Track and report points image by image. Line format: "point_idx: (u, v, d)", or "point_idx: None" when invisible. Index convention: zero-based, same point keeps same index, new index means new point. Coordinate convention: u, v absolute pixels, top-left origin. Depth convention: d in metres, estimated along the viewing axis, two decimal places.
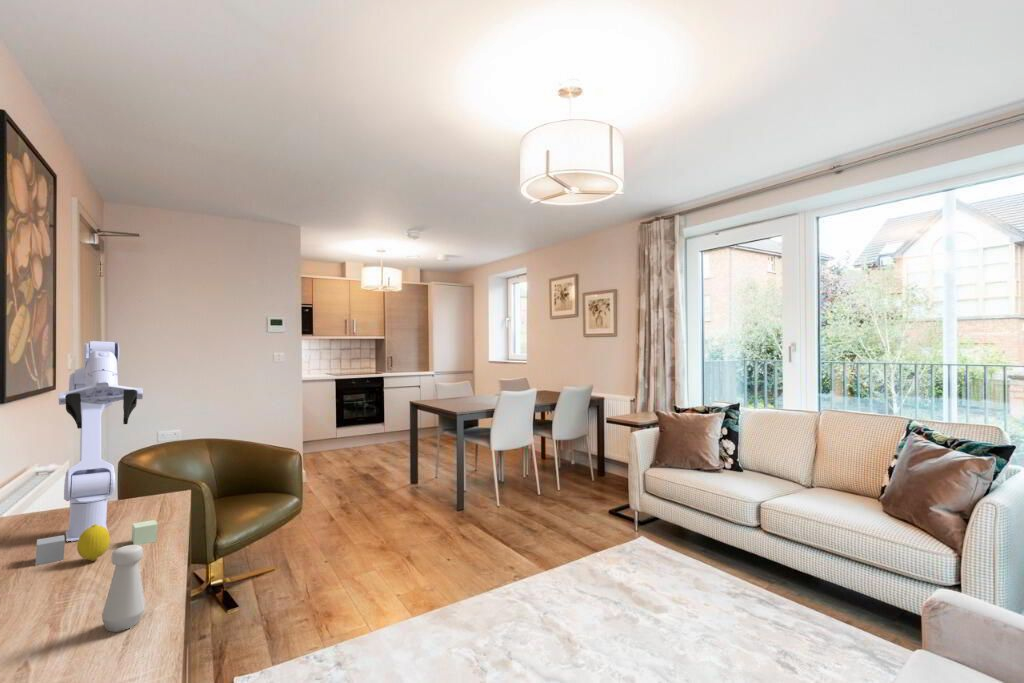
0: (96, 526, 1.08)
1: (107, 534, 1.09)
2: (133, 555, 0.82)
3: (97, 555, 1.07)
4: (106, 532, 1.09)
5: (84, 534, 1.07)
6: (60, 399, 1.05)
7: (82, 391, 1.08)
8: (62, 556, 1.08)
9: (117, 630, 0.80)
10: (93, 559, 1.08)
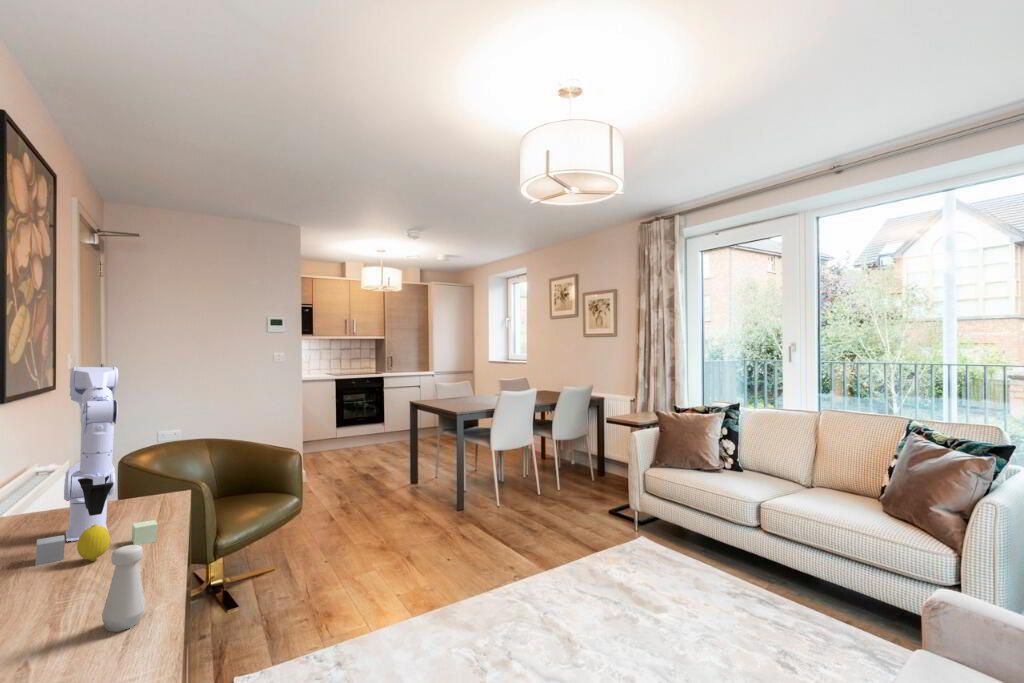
0: (96, 526, 1.08)
1: (107, 534, 1.09)
2: (133, 555, 0.82)
3: (97, 555, 1.07)
4: (106, 532, 1.09)
5: (84, 534, 1.07)
6: None
7: None
8: (62, 556, 1.08)
9: (117, 630, 0.80)
10: (93, 559, 1.08)
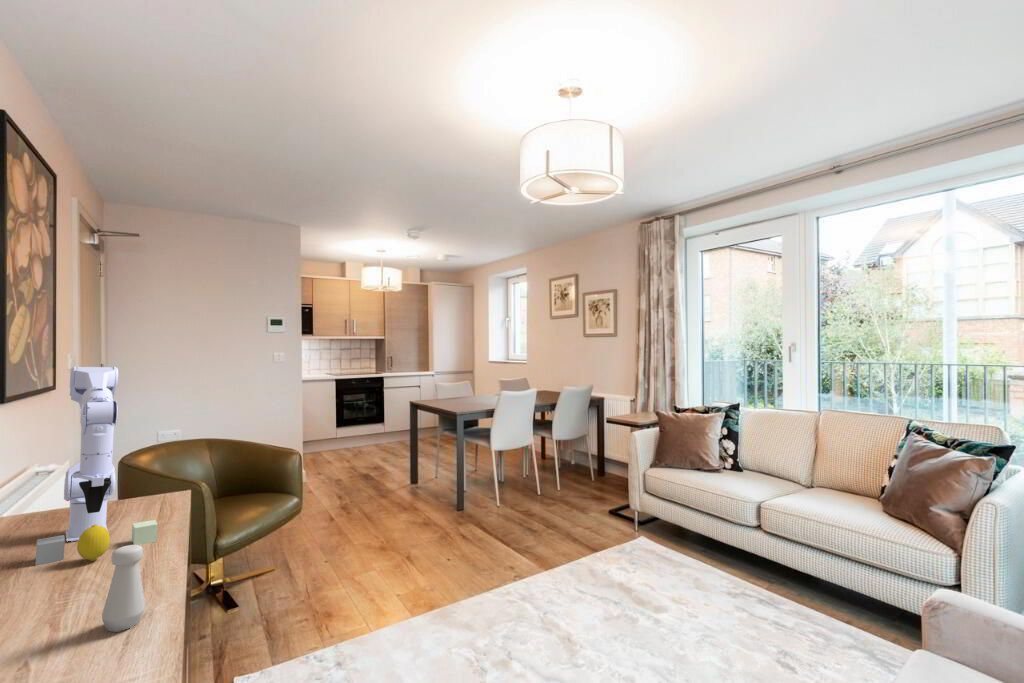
0: (96, 526, 1.08)
1: (107, 534, 1.09)
2: (133, 555, 0.82)
3: (97, 555, 1.07)
4: (106, 532, 1.09)
5: (84, 534, 1.07)
6: None
7: None
8: (62, 556, 1.08)
9: (117, 630, 0.80)
10: (93, 559, 1.08)
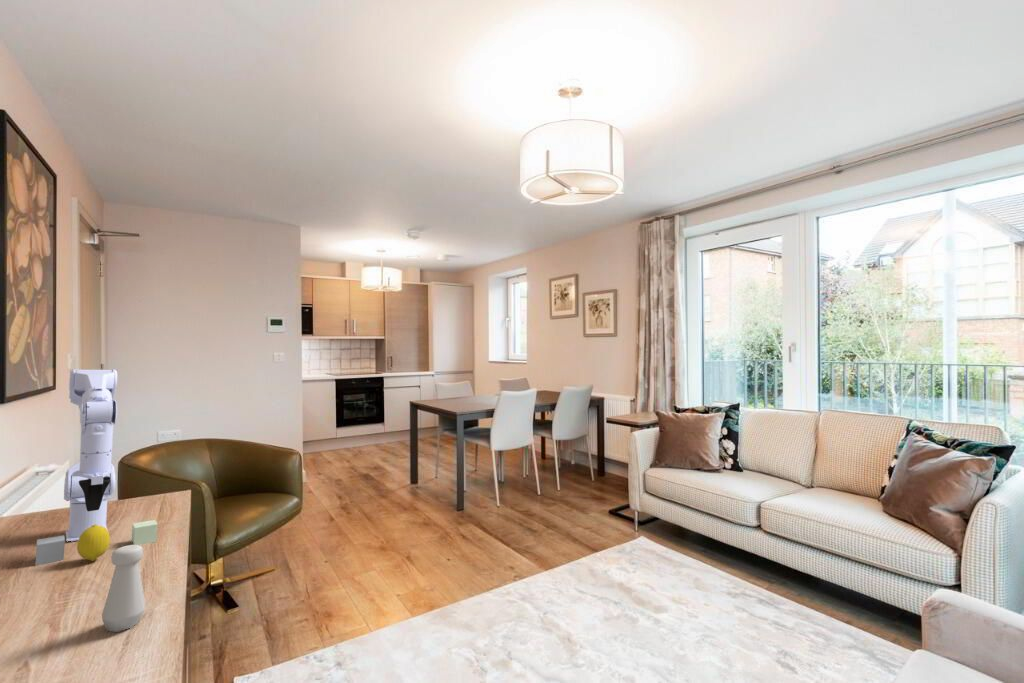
0: (96, 526, 1.08)
1: (107, 534, 1.09)
2: (133, 555, 0.82)
3: (97, 555, 1.07)
4: (106, 532, 1.09)
5: (84, 534, 1.07)
6: None
7: None
8: (62, 556, 1.08)
9: (117, 630, 0.80)
10: (93, 559, 1.08)
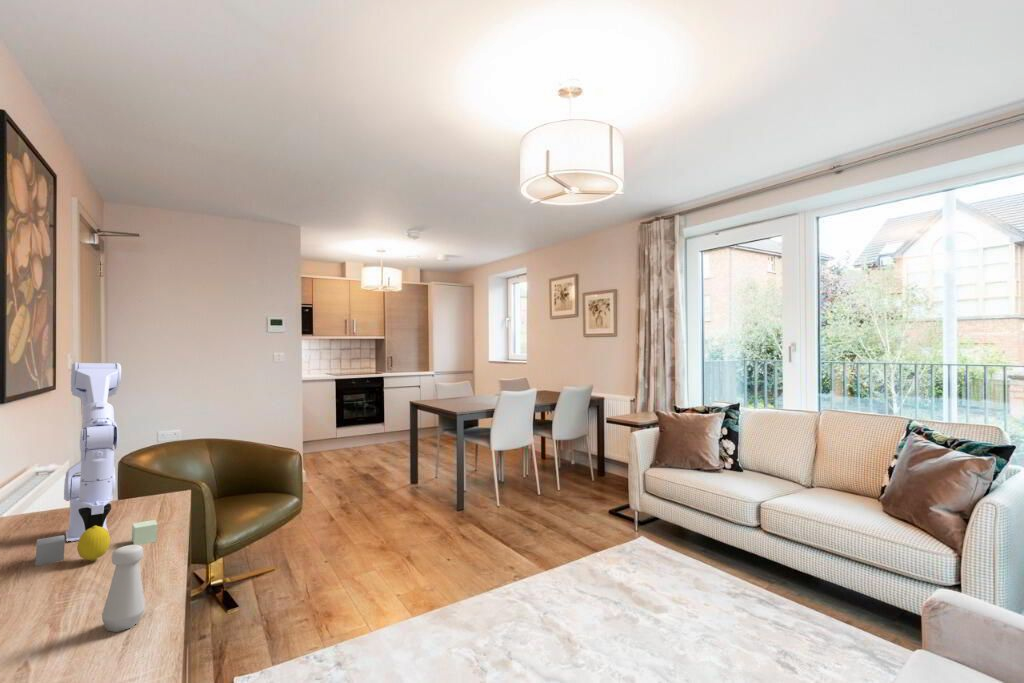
0: (96, 527, 1.08)
1: (107, 535, 1.09)
2: (133, 554, 0.82)
3: (97, 556, 1.07)
4: (106, 533, 1.09)
5: (84, 535, 1.06)
6: None
7: None
8: (62, 556, 1.08)
9: (117, 630, 0.80)
10: (93, 560, 1.08)
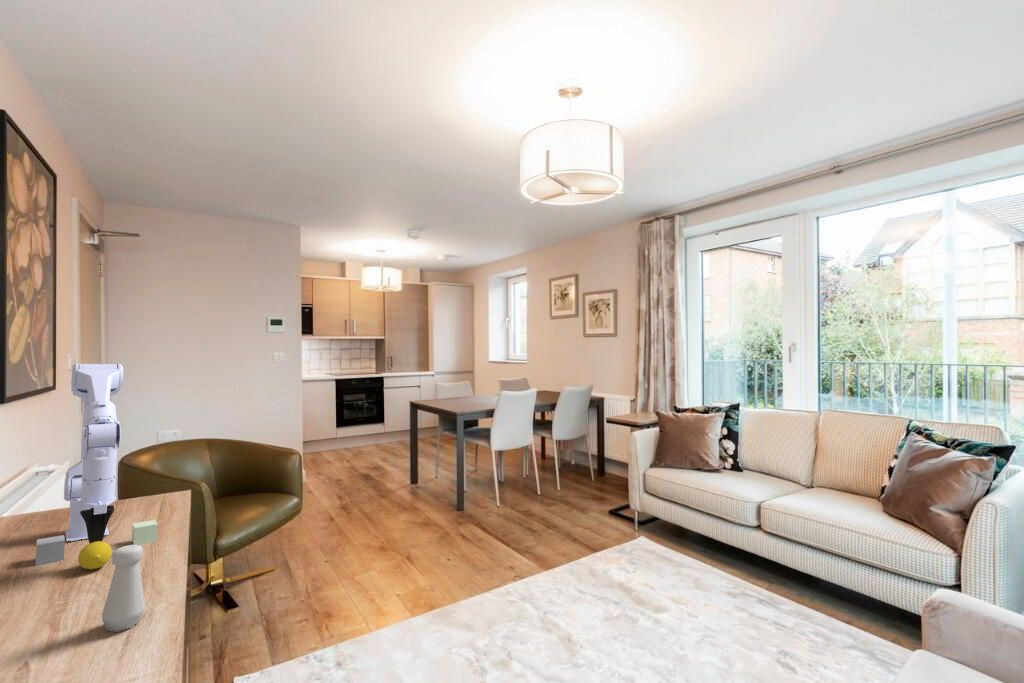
0: (98, 559, 1.02)
1: (108, 559, 1.05)
2: (133, 555, 0.82)
3: None
4: (108, 559, 1.04)
5: (85, 564, 1.01)
6: None
7: None
8: (62, 556, 1.08)
9: (117, 630, 0.80)
10: None
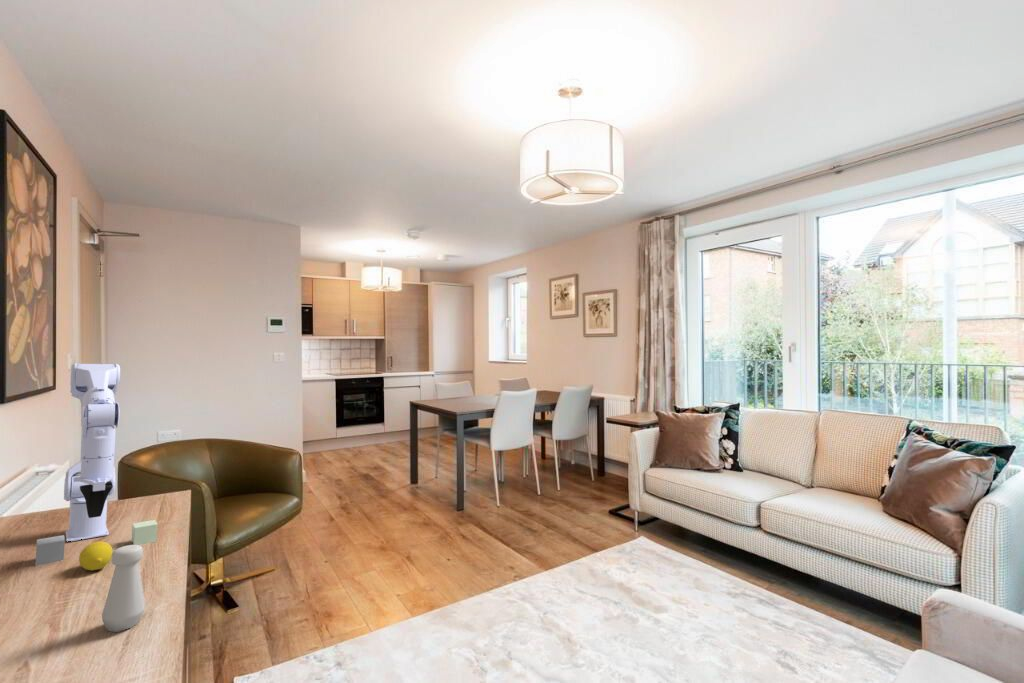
0: (99, 563, 1.02)
1: (109, 561, 1.05)
2: (133, 555, 0.82)
3: None
4: (108, 562, 1.04)
5: (86, 566, 1.01)
6: None
7: None
8: (62, 556, 1.08)
9: (117, 630, 0.80)
10: None
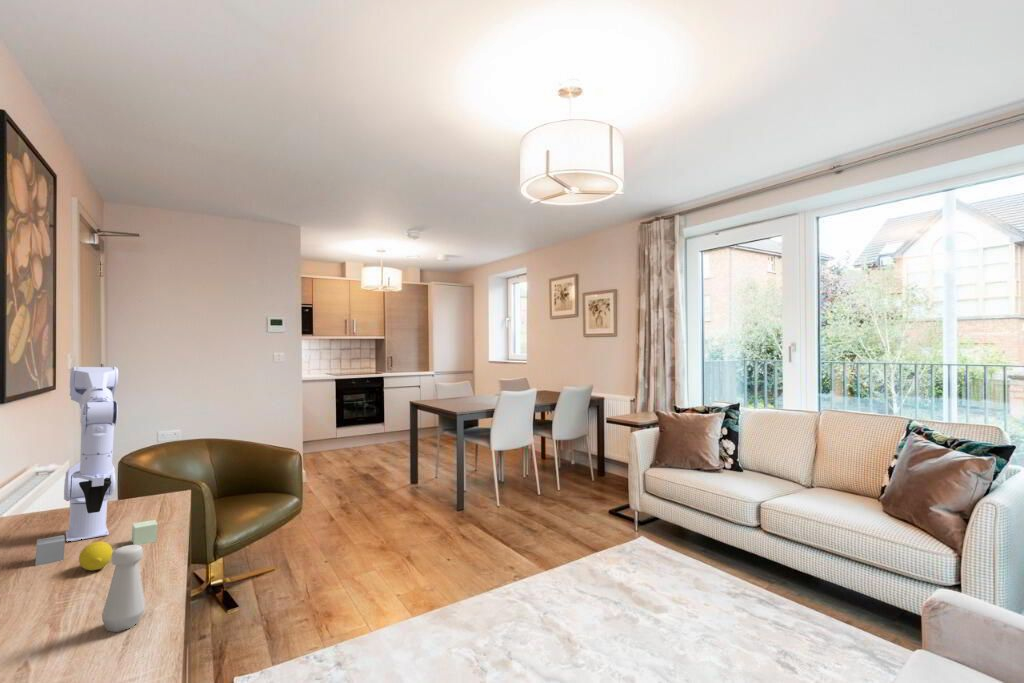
0: (99, 563, 1.02)
1: (109, 561, 1.05)
2: (133, 555, 0.82)
3: None
4: (108, 561, 1.04)
5: (85, 566, 1.01)
6: None
7: None
8: (62, 556, 1.08)
9: (117, 630, 0.80)
10: None
